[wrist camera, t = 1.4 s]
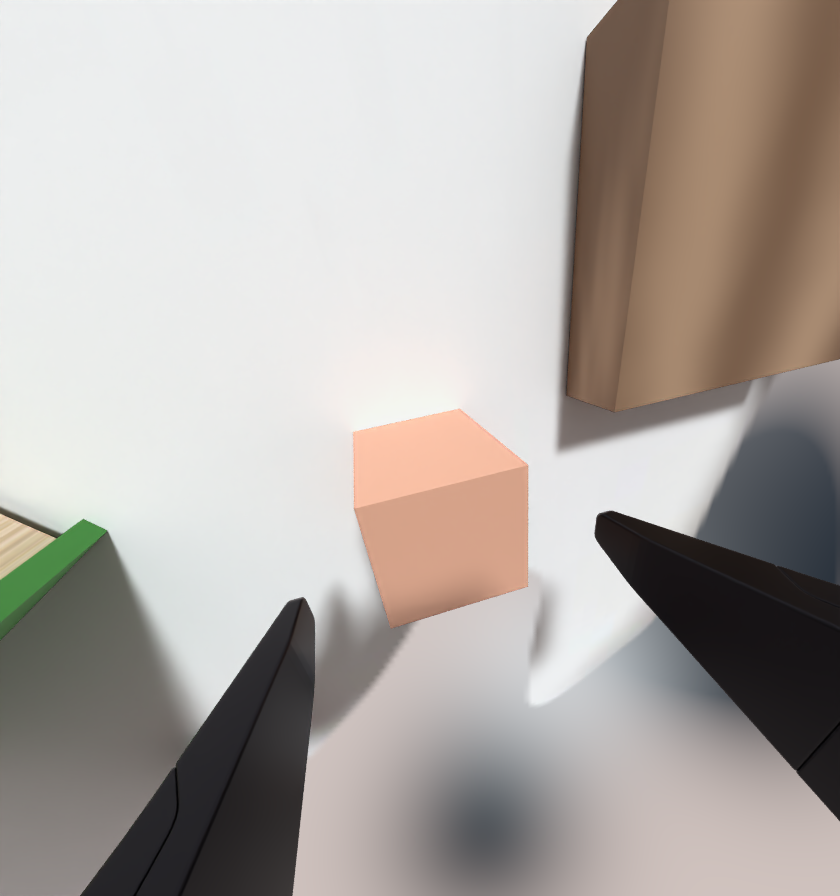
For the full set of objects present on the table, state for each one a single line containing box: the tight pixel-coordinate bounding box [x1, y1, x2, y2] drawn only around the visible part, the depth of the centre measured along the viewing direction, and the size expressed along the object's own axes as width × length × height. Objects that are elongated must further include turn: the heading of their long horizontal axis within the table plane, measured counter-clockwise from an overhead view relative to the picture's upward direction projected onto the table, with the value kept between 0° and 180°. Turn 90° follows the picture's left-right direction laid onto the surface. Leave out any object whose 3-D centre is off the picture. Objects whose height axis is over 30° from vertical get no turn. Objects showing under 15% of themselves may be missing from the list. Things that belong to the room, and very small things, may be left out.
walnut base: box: [566, 0, 840, 412], centre depth 11 cm, size 12×12×3 cm
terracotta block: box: [353, 409, 528, 628], centre depth 12 cm, size 5×5×6 cm
